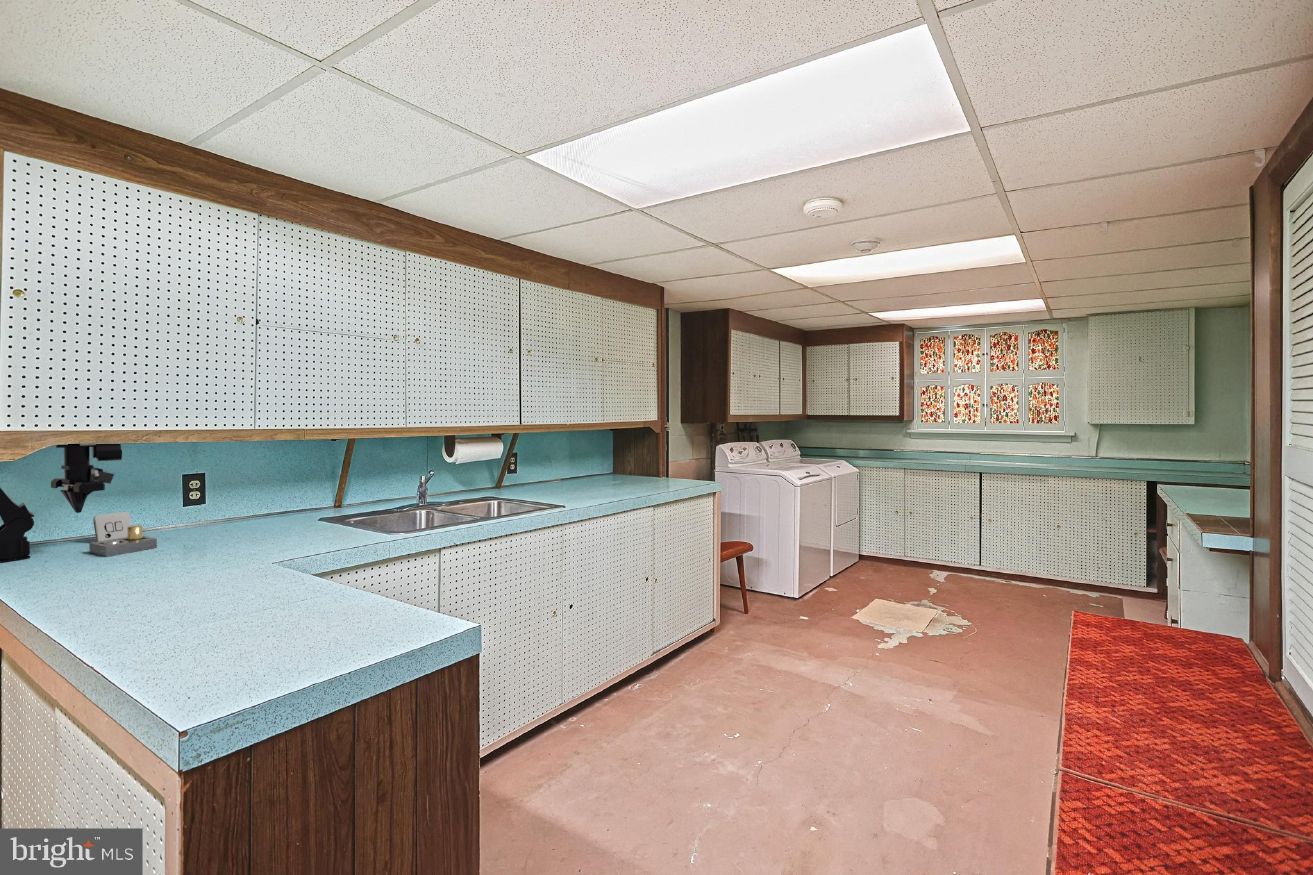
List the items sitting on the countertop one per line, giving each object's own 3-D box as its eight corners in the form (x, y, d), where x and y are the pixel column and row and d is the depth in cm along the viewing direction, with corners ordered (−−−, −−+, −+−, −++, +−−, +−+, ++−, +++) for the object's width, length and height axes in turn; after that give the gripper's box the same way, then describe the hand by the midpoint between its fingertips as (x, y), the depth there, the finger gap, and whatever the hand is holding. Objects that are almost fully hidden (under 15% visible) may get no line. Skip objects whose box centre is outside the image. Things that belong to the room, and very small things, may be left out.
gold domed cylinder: (131, 550, 192) (131, 528, 192) (125, 548, 194) (124, 526, 193) (145, 547, 195) (144, 526, 195) (138, 546, 197) (138, 524, 197)
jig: (106, 556, 184) (106, 546, 184) (89, 552, 188) (89, 542, 188) (157, 547, 196) (156, 538, 195) (140, 544, 200) (139, 535, 200)
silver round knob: (107, 554, 187) (107, 543, 187) (101, 553, 188) (101, 541, 188) (122, 552, 190) (122, 540, 190) (116, 550, 192) (115, 539, 191)
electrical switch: (98, 544, 199) (96, 515, 199) (91, 543, 202) (89, 515, 202) (133, 538, 208) (131, 511, 208) (126, 538, 210) (124, 511, 210)
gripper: (125, 461, 192) (126, 511, 192) (94, 458, 200) (95, 506, 201) (79, 464, 182) (80, 517, 182) (49, 460, 190) (50, 511, 190)
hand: (78, 512), depth 189 cm, fingers closed
